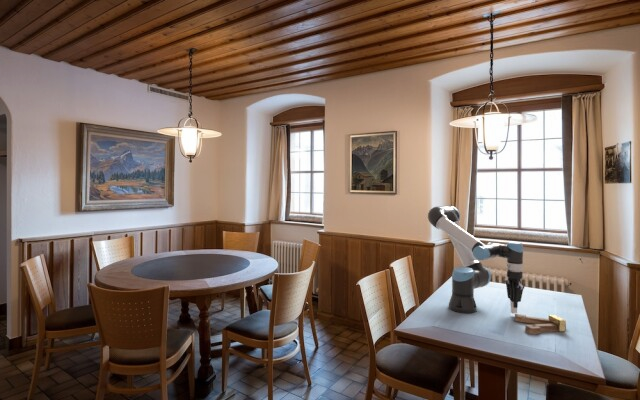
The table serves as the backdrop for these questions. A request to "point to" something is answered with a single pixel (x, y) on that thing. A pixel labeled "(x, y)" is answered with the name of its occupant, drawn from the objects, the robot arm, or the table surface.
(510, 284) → the robot arm
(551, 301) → the table surface
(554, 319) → the lock collar
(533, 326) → the tongs fixed arm
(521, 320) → the tongs moving arm
